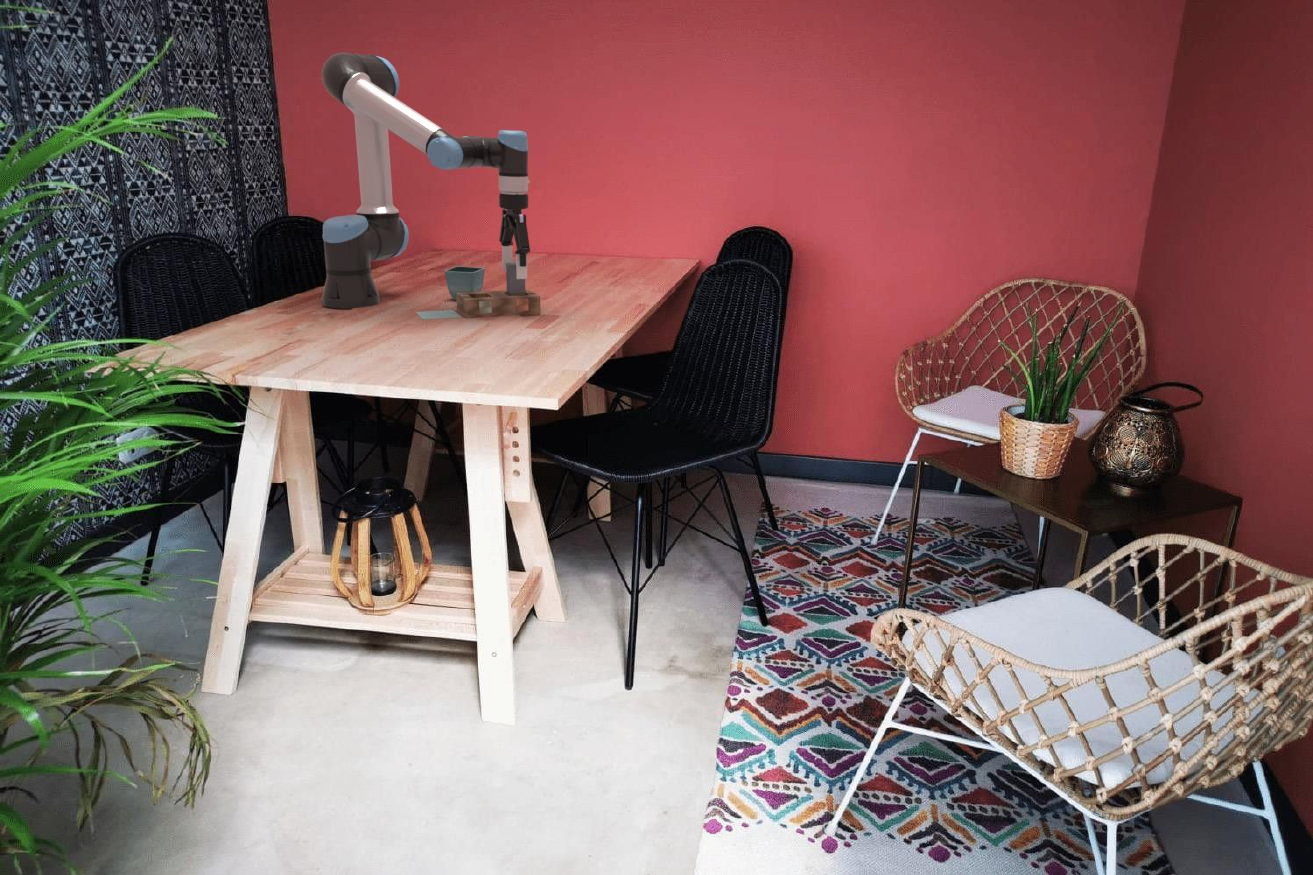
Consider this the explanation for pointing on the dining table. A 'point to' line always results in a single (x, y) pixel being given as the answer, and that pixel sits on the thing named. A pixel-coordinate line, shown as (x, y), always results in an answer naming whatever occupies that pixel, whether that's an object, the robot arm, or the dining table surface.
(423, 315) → the mat
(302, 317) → the dining table surface
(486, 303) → the socket block
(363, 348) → the dining table surface
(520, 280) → the plug
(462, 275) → the flower pot
